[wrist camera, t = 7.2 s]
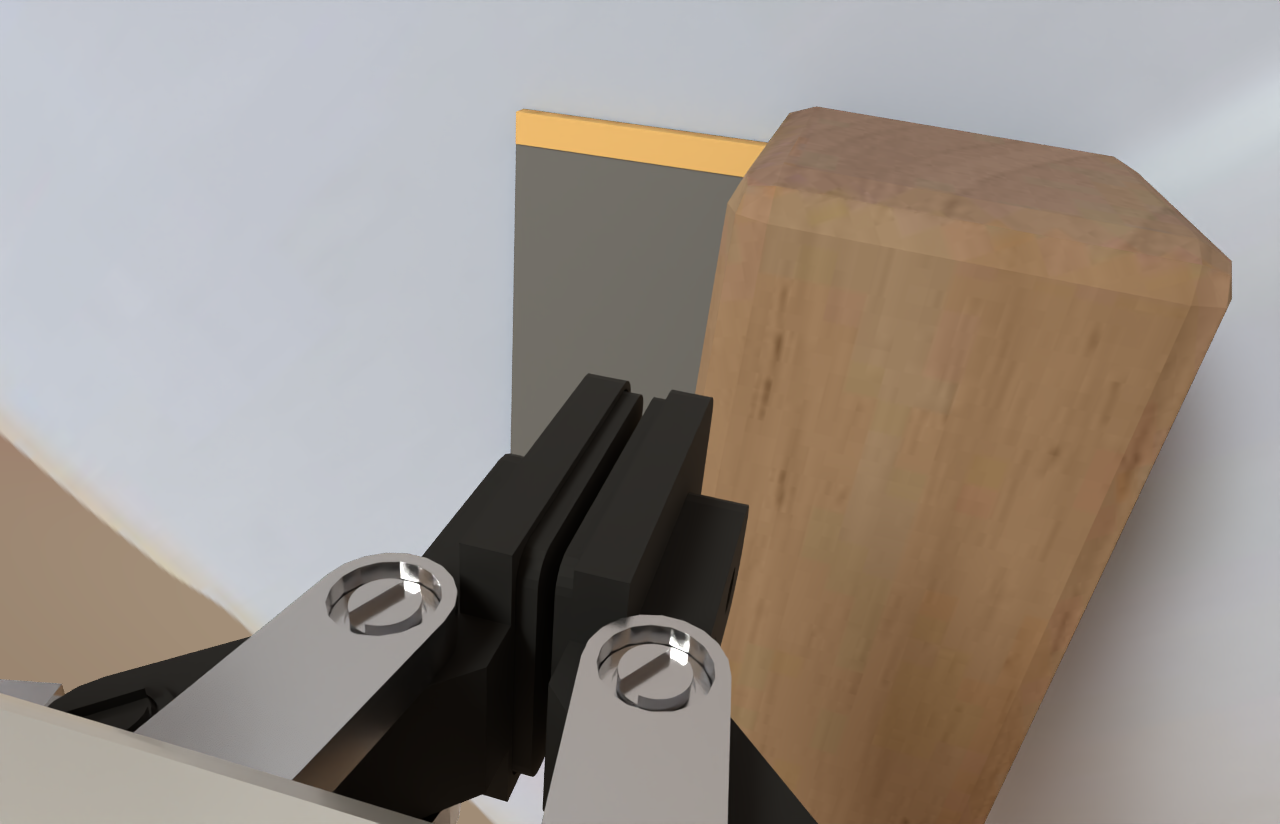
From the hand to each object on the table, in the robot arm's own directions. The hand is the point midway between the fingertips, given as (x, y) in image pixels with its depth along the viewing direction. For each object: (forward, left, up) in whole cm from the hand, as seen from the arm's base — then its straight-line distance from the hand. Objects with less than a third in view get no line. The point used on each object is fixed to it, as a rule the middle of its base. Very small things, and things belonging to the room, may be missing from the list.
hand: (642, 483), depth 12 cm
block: (-4, -2, -13) cm, 14 cm away
